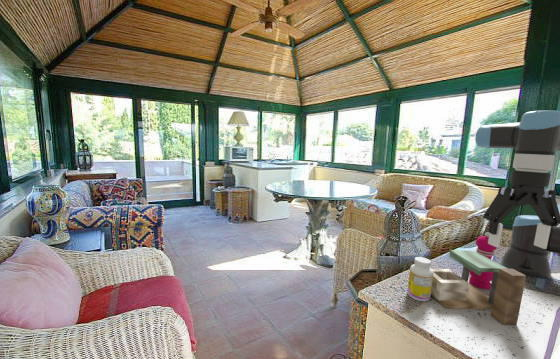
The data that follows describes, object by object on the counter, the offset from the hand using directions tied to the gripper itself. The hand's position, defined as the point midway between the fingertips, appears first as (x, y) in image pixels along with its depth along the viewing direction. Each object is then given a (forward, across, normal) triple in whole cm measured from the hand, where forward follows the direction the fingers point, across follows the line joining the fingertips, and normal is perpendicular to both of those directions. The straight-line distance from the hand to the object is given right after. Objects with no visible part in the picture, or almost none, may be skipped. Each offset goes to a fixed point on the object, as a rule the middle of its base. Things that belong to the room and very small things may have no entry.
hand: (516, 246), depth 70 cm
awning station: (+23, +5, -12) cm, 26 cm away
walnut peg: (+23, 0, 0) cm, 23 cm away
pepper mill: (+23, -9, -19) cm, 31 cm away
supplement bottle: (+23, +19, -11) cm, 32 cm away
